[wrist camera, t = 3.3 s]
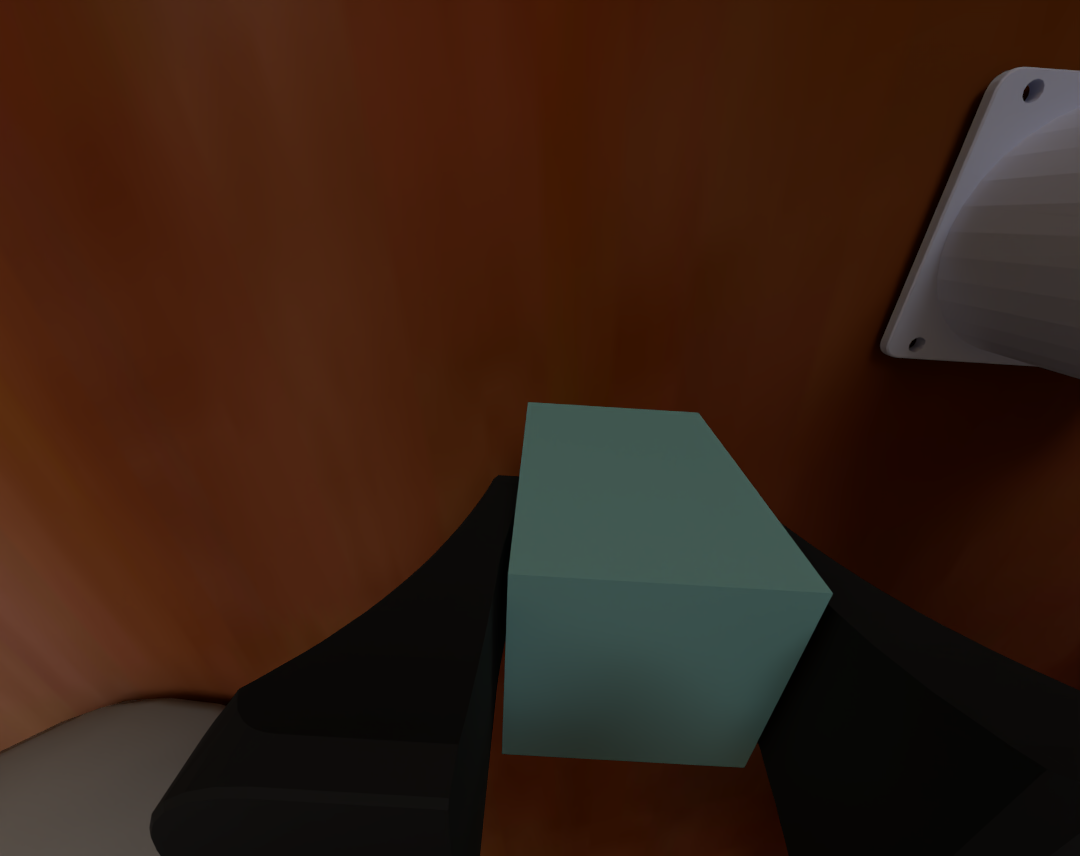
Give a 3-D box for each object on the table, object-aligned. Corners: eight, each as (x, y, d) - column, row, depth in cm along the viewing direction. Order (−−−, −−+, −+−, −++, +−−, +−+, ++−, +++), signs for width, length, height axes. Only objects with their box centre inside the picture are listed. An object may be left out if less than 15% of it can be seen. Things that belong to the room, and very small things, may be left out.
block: (698, 412, 11) (833, 593, 6) (665, 543, 13) (744, 767, 8) (528, 402, 11) (507, 574, 6) (521, 535, 13) (501, 753, 8)
